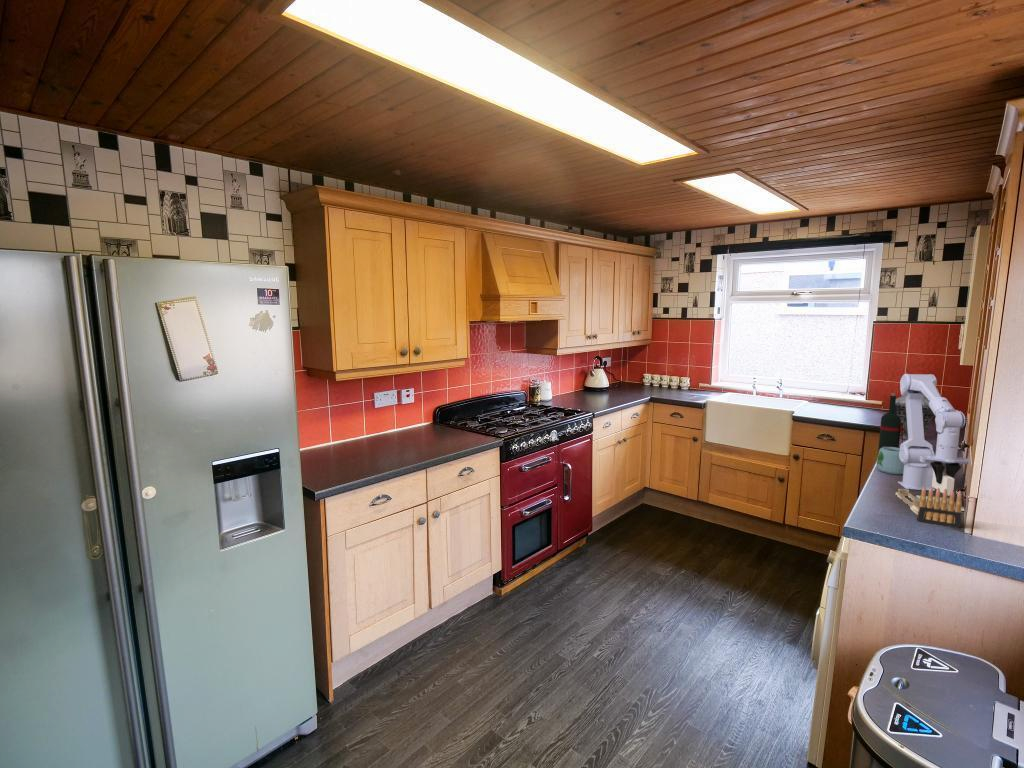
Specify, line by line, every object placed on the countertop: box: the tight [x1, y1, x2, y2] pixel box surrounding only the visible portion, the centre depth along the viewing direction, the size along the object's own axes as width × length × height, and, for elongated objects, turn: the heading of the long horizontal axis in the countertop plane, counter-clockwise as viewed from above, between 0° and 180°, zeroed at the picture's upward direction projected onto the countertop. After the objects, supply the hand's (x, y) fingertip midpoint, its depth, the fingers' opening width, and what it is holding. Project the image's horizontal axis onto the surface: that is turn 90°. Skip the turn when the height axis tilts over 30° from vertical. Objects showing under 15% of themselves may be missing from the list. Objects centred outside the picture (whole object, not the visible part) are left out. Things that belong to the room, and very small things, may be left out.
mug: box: [876, 447, 904, 475], centre depth 220 cm, size 15×11×10 cm
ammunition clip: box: [916, 486, 963, 528], centre depth 164 cm, size 11×2×12 cm, turn 58°
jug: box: [895, 387, 940, 440], centre depth 272 cm, size 21×19×30 cm
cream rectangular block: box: [932, 470, 956, 497], centre depth 180 cm, size 2×10×6 cm, turn 163°
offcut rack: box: [895, 488, 933, 516], centre depth 181 cm, size 6×20×3 cm, turn 163°
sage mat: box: [915, 494, 964, 511], centre depth 181 cm, size 10×13×1 cm
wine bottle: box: [877, 392, 904, 455], centre depth 240 cm, size 8×10×30 cm
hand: (943, 483), depth 180 cm, fingers closed on cream rectangular block, 2 cm apart
